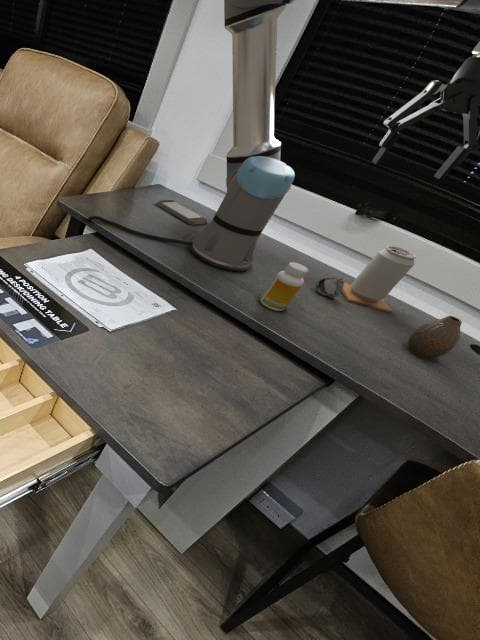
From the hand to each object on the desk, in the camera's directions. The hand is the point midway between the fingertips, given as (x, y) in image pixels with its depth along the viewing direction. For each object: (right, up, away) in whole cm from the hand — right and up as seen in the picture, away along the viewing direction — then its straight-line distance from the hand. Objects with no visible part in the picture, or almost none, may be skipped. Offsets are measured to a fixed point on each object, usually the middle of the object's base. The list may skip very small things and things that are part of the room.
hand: (406, 170), depth 104 cm
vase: (-4, -43, -7) cm, 43 cm away
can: (-1, -27, +10) cm, 29 cm away
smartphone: (-35, +3, +35) cm, 50 cm away
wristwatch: (-13, -27, +8) cm, 31 cm away
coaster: (-1, -27, +10) cm, 29 cm away
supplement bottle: (-32, -31, -1) cm, 45 cm away
